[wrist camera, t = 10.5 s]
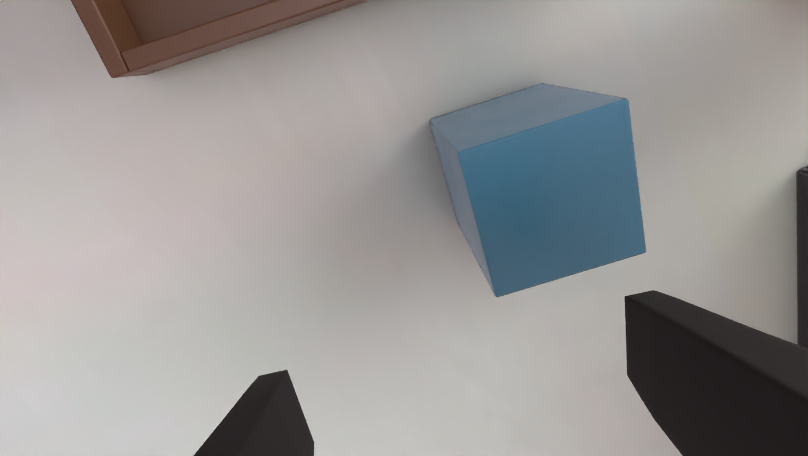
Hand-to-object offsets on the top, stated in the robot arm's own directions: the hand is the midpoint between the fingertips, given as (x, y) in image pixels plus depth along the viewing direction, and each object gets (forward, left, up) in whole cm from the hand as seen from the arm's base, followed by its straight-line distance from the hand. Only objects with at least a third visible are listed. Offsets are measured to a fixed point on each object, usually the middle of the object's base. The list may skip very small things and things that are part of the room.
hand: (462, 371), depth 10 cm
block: (+2, +3, -9) cm, 10 cm away
